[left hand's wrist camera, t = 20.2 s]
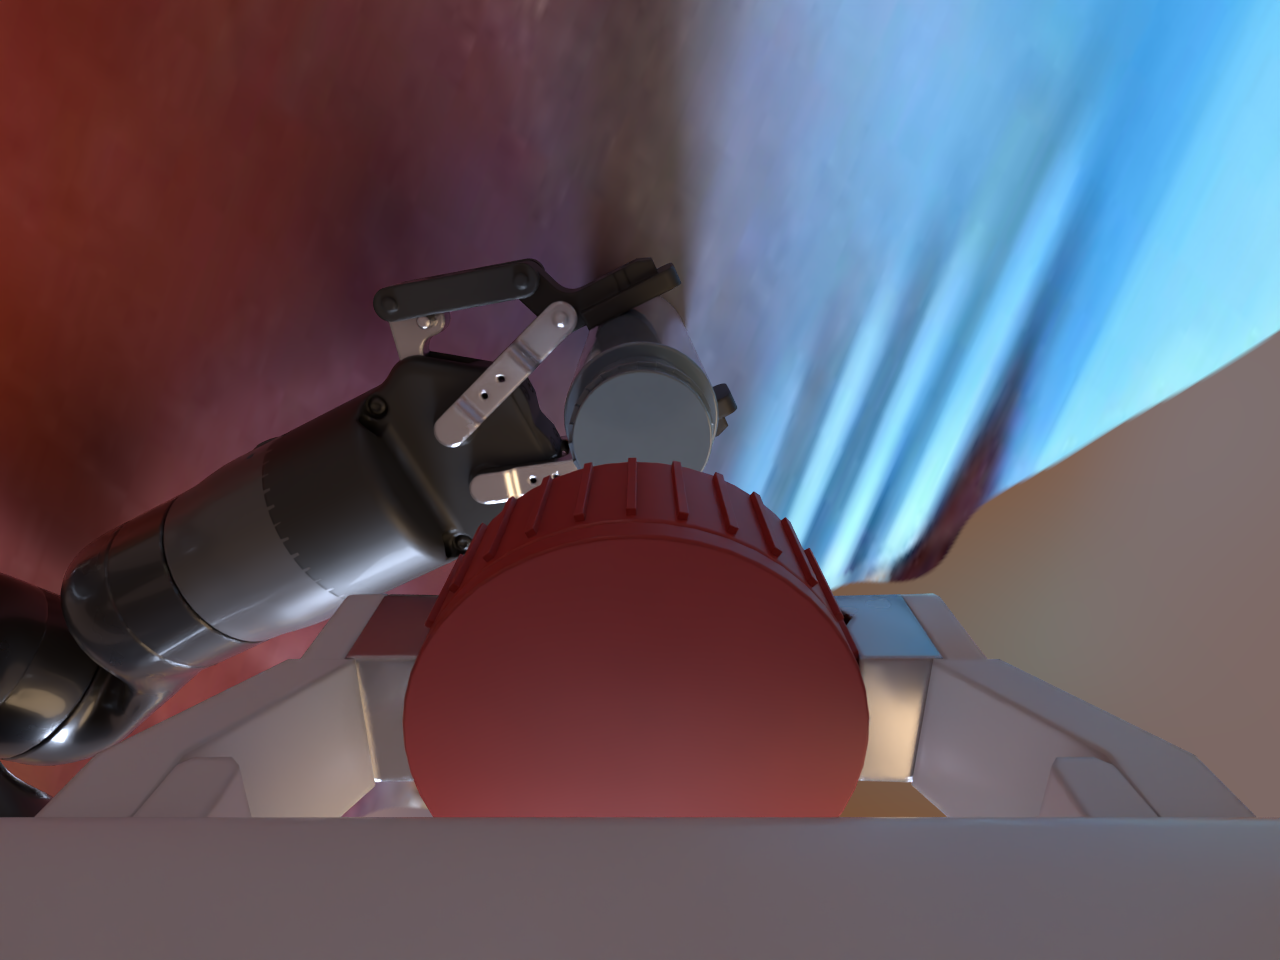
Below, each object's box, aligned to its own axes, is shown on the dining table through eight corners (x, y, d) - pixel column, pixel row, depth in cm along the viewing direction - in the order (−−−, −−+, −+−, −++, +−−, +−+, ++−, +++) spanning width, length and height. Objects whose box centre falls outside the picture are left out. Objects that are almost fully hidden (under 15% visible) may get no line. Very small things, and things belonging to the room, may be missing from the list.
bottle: (641, 269, 33) (650, 317, 18) (704, 343, 34) (761, 446, 19) (569, 335, 34) (521, 433, 19) (633, 405, 35) (635, 548, 20)
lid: (704, 831, 12) (718, 971, 10) (386, 696, 11) (324, 818, 9) (906, 568, 10) (978, 667, 8) (550, 380, 9) (522, 435, 7)
